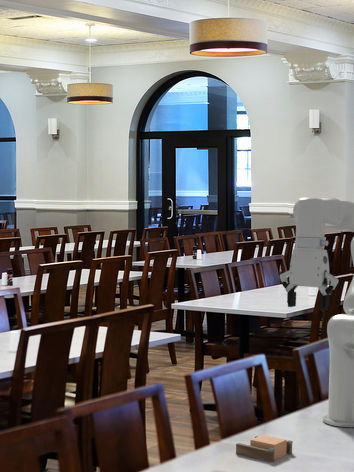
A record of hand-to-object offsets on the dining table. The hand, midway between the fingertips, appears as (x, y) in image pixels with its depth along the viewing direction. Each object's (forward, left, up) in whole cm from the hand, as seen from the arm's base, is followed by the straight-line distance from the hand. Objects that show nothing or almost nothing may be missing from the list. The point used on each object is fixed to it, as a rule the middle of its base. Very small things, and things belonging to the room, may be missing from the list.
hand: (307, 308), depth 228 cm
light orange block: (+17, 0, -36) cm, 40 cm away
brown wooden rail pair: (+17, -2, -36) cm, 40 cm away
